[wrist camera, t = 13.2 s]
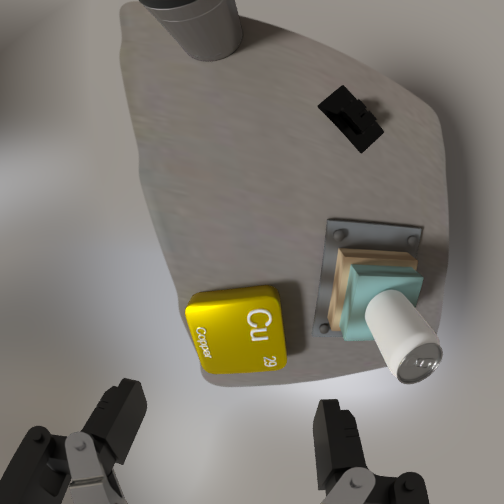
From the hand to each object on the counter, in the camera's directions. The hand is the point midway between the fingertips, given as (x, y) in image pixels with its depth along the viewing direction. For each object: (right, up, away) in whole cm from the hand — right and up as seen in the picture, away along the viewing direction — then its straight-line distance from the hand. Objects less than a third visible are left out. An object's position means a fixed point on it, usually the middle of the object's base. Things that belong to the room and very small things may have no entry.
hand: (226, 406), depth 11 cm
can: (+19, -1, +24) cm, 30 cm away
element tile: (-1, -6, +37) cm, 37 cm away
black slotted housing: (+16, +26, +25) cm, 39 cm away
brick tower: (+20, +2, +32) cm, 38 cm away
